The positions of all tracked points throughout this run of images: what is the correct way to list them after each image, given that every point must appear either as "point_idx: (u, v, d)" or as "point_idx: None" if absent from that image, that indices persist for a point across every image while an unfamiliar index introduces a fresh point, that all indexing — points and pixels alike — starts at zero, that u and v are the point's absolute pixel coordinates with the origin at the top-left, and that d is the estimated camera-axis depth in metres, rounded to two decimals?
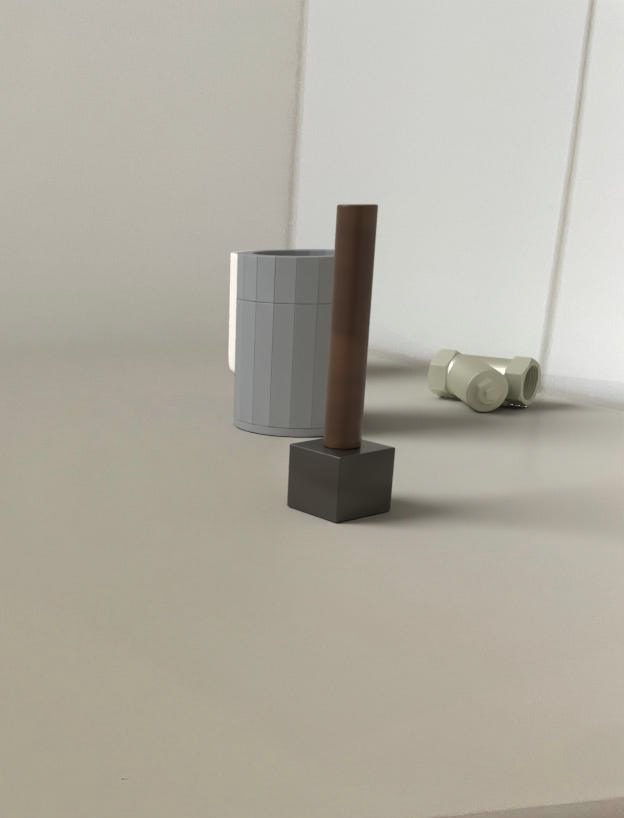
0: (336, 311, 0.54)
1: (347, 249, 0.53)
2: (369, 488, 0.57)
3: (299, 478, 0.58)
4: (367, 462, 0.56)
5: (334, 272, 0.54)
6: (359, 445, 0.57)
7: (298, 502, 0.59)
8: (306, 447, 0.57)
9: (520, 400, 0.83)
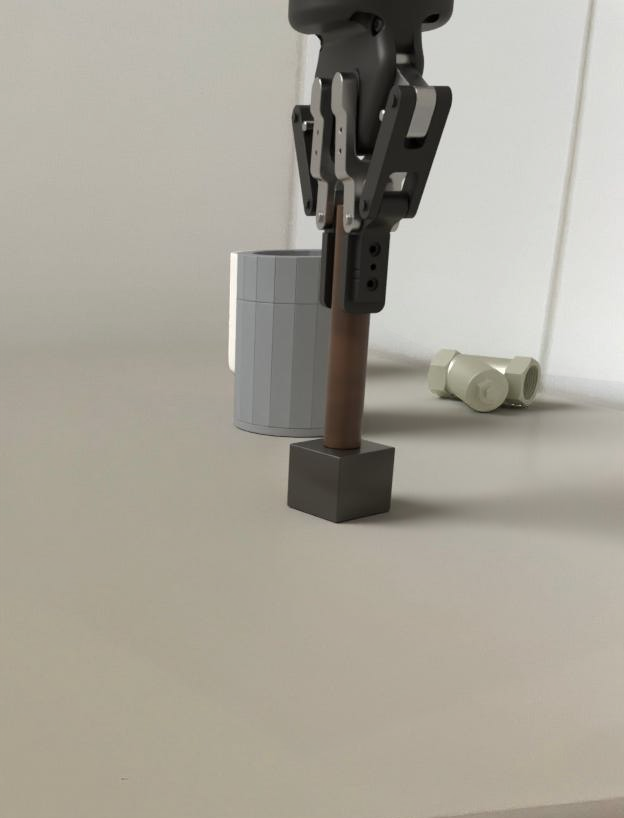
0: (336, 311, 0.54)
1: None
2: (369, 488, 0.57)
3: (299, 478, 0.58)
4: (367, 461, 0.56)
5: (334, 272, 0.54)
6: (359, 445, 0.57)
7: (298, 502, 0.59)
8: (306, 447, 0.57)
9: (520, 400, 0.83)
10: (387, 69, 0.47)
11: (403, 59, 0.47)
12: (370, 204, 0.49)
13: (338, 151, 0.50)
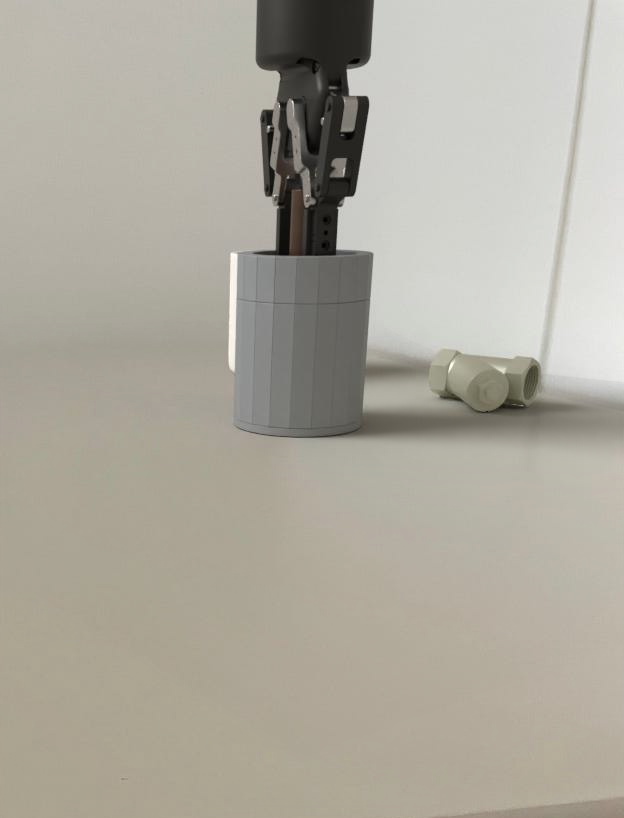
0: None
1: (299, 221, 0.74)
2: None
3: None
4: None
5: (290, 238, 0.75)
6: None
7: None
8: None
9: (521, 400, 0.83)
10: (323, 97, 0.68)
11: (334, 87, 0.68)
12: (321, 186, 0.68)
13: (295, 152, 0.71)
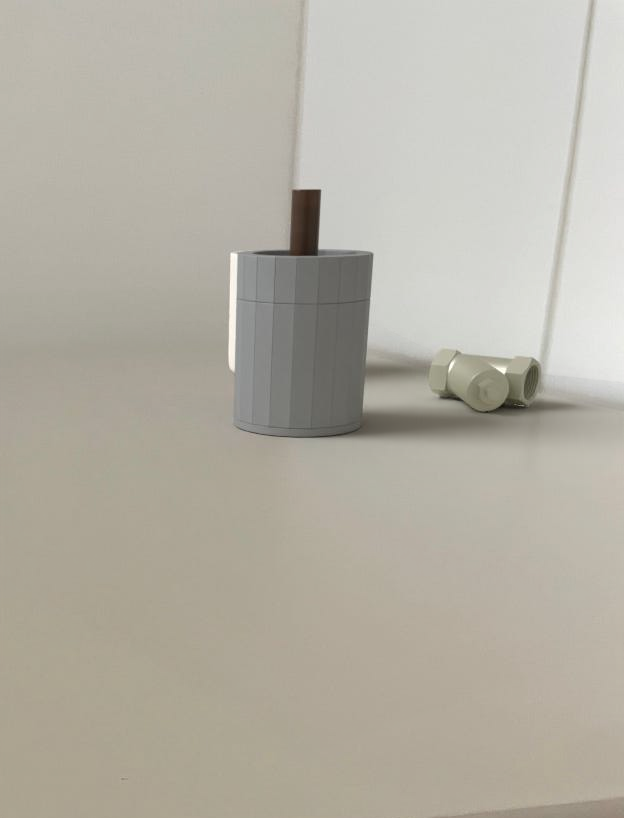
0: None
1: (299, 221, 0.74)
2: None
3: None
4: None
5: (290, 238, 0.75)
6: None
7: None
8: None
9: (521, 400, 0.84)
10: None
11: None
12: None
13: None
